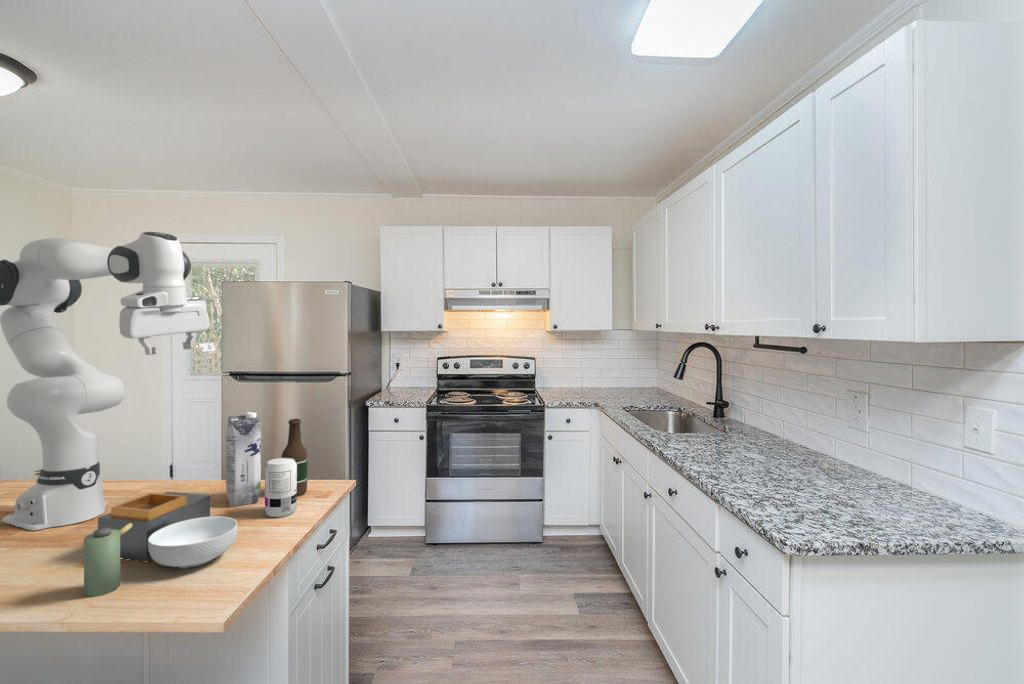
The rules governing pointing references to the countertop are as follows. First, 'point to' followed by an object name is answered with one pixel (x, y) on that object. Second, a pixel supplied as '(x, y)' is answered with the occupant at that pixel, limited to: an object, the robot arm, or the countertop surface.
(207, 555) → the cereal bowl
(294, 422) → the beer bottle
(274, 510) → the supplement can
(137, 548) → the box
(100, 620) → the countertop surface
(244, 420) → the juice carton
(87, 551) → the oil can
